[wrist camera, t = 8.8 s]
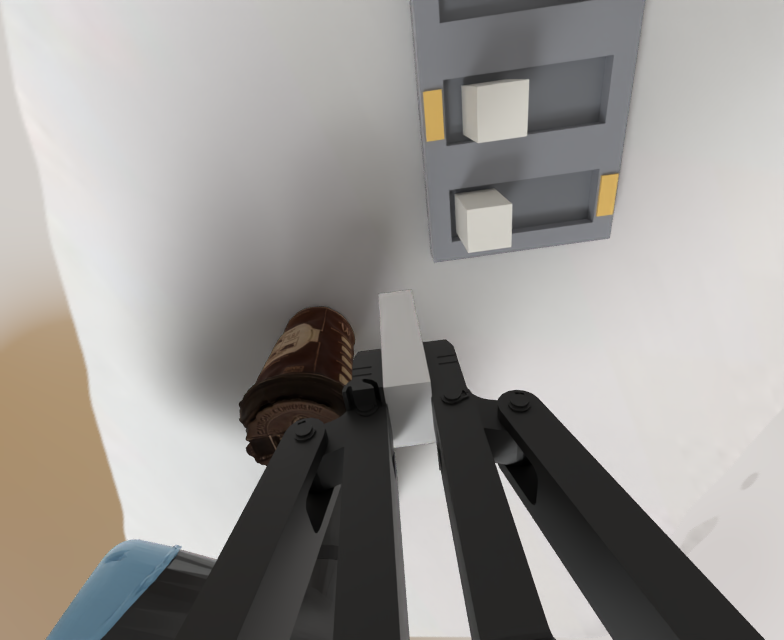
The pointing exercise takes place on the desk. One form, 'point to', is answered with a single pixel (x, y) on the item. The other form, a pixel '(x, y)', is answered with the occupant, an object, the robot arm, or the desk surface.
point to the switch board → (545, 113)
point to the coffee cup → (299, 379)
